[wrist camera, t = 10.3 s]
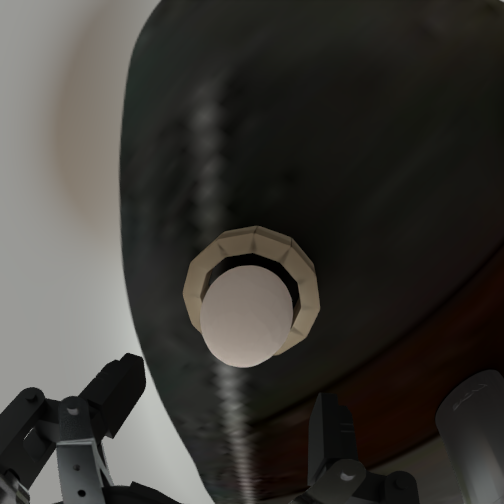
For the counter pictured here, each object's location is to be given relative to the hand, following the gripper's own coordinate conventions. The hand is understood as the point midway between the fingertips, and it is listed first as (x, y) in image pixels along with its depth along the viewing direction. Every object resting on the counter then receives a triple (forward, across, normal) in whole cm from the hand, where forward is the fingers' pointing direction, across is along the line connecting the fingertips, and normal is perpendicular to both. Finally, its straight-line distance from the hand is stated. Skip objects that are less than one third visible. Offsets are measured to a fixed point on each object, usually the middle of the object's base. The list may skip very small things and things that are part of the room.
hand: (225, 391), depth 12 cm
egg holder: (+10, 0, -1) cm, 10 cm away
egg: (+10, 0, -1) cm, 10 cm away
